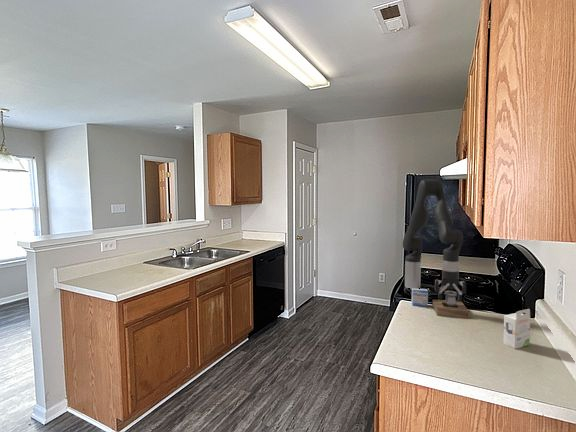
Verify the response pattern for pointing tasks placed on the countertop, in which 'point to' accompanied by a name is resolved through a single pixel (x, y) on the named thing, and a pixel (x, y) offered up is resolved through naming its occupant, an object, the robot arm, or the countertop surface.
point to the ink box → (517, 329)
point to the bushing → (450, 298)
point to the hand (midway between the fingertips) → (449, 300)
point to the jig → (450, 309)
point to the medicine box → (419, 297)
